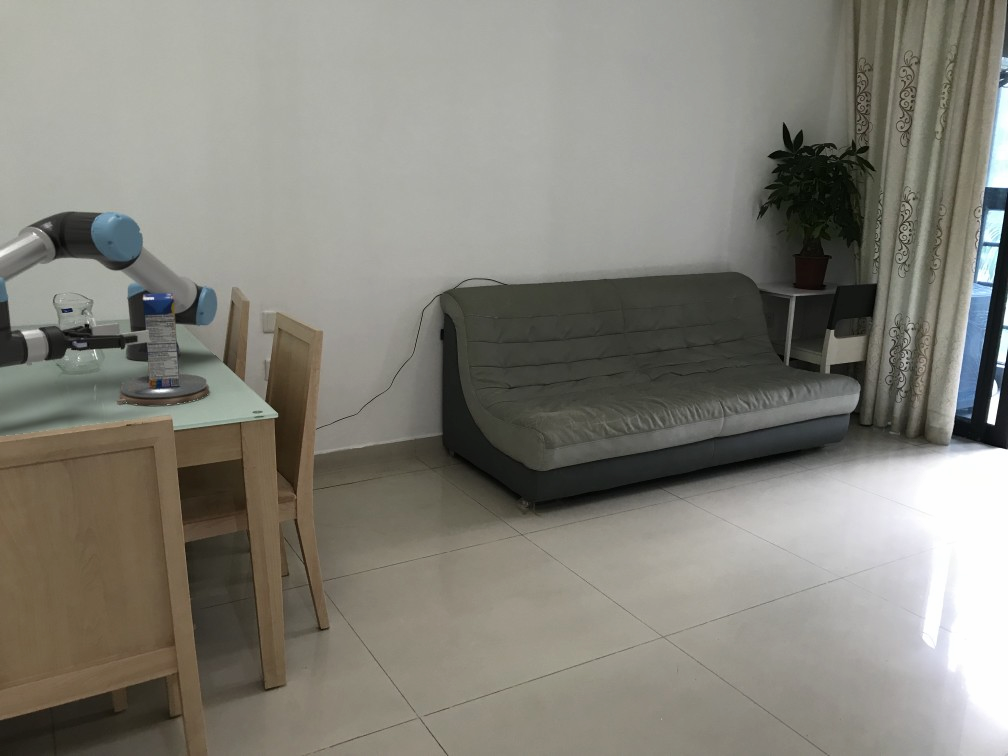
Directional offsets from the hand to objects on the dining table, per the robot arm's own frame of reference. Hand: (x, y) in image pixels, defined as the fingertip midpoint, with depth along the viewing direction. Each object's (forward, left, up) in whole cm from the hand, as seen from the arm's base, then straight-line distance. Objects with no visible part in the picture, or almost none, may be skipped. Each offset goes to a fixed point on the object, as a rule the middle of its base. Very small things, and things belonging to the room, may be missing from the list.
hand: (133, 332), depth 196 cm
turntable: (-7, 0, -15) cm, 17 cm away
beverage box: (-7, 0, -14) cm, 16 cm away
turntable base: (-7, 0, -17) cm, 19 cm away
